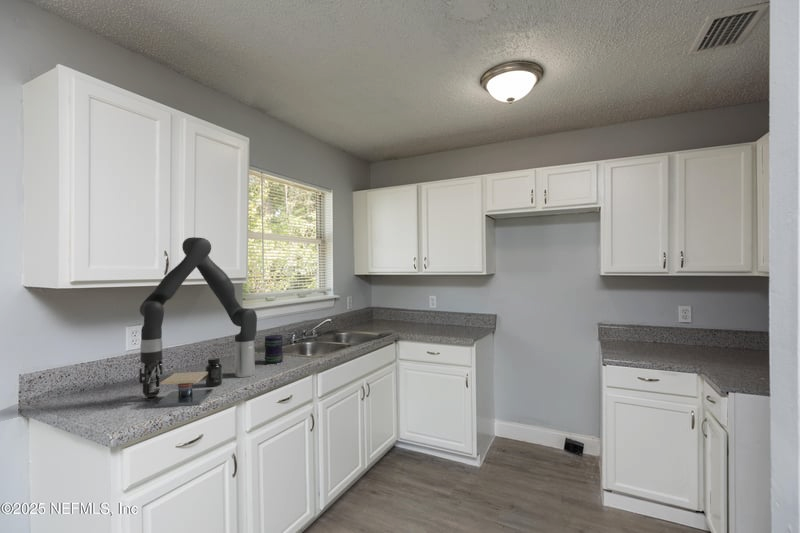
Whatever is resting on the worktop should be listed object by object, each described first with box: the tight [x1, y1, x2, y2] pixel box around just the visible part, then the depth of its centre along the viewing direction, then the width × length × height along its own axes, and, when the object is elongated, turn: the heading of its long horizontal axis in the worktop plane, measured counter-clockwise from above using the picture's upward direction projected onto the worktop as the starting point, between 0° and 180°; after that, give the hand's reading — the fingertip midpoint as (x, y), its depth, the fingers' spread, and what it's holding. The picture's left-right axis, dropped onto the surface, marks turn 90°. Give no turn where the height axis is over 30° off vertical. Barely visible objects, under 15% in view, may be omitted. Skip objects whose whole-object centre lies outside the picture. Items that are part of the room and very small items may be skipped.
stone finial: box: [143, 372, 161, 402], centre depth 155 cm, size 6×6×12 cm
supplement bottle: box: [204, 357, 223, 388], centre depth 174 cm, size 7×7×12 cm
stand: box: [154, 371, 214, 408], centre depth 154 cm, size 16×16×9 cm
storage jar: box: [264, 334, 284, 365], centre depth 216 cm, size 10×10×15 cm
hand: (151, 389), depth 155 cm, fingers open, 8 cm apart
